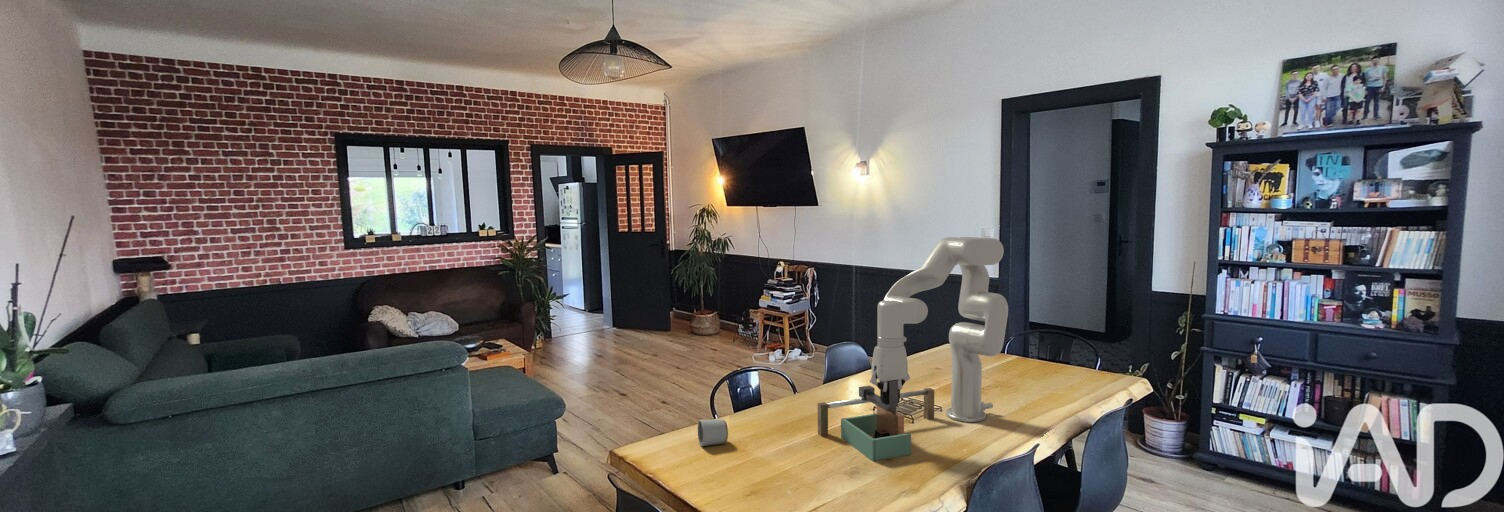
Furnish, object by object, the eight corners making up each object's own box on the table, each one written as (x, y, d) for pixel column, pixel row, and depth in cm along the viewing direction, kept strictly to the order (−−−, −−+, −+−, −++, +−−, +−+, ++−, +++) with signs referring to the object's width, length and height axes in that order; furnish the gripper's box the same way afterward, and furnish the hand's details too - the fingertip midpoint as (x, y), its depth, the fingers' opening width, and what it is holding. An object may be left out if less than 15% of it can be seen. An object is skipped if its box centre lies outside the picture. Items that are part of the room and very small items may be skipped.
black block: (903, 452, 188) (903, 437, 187) (881, 456, 185) (881, 440, 185) (881, 437, 199) (881, 422, 199) (860, 440, 197) (860, 425, 196)
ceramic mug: (729, 446, 193) (729, 421, 192) (703, 450, 190) (702, 424, 189) (719, 434, 203) (719, 410, 202) (694, 438, 200) (694, 414, 199)
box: (876, 432, 202) (876, 413, 201) (910, 454, 184) (910, 434, 184) (841, 437, 198) (840, 418, 197) (872, 461, 180) (872, 440, 179)
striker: (869, 421, 208) (869, 365, 206) (906, 445, 188) (907, 383, 186) (858, 423, 207) (858, 366, 205) (895, 447, 186) (895, 385, 185)
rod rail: (929, 416, 215) (930, 388, 214) (934, 418, 213) (934, 389, 212) (817, 433, 201) (817, 403, 201) (821, 436, 199) (820, 405, 198)
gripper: (907, 337, 196) (906, 395, 198) (859, 342, 191) (859, 402, 192) (921, 342, 189) (920, 403, 191) (872, 347, 184) (872, 410, 185)
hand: (890, 402), depth 192 cm, fingers closed on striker, 3 cm apart
